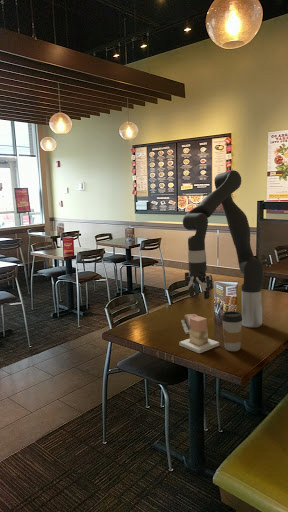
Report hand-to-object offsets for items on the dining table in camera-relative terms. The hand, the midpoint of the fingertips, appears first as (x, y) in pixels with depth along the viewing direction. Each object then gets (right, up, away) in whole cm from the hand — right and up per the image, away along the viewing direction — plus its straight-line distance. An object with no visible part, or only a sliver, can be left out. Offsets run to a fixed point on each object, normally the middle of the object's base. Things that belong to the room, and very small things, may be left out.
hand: (199, 297), depth 162 cm
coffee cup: (+13, -21, -5) cm, 25 cm away
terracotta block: (0, -14, -1) cm, 14 cm away
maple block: (0, -19, 0) cm, 19 cm away
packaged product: (0, -18, +24) cm, 29 cm away
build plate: (0, -21, 0) cm, 21 cm away
